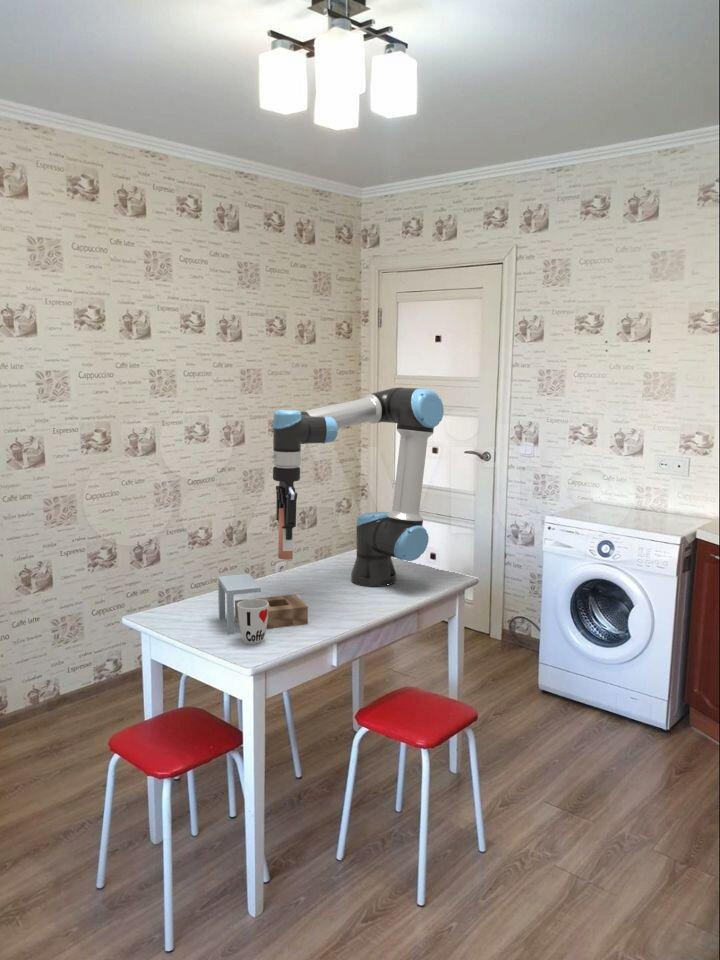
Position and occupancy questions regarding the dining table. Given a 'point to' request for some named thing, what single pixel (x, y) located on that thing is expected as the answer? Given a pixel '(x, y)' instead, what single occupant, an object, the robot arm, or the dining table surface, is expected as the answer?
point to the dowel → (282, 553)
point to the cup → (253, 619)
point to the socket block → (283, 611)
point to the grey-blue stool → (233, 587)
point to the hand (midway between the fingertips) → (285, 548)
